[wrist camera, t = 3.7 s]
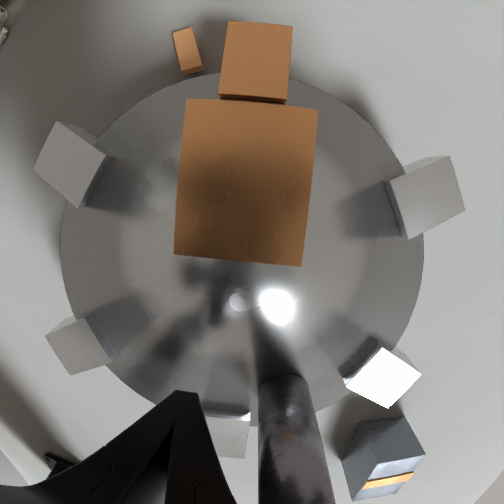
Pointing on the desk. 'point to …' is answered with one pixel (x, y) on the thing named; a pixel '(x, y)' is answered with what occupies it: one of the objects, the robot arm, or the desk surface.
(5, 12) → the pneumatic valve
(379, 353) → the sprocket
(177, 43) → the plinth
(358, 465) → the banded grey cube
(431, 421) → the desk surface
